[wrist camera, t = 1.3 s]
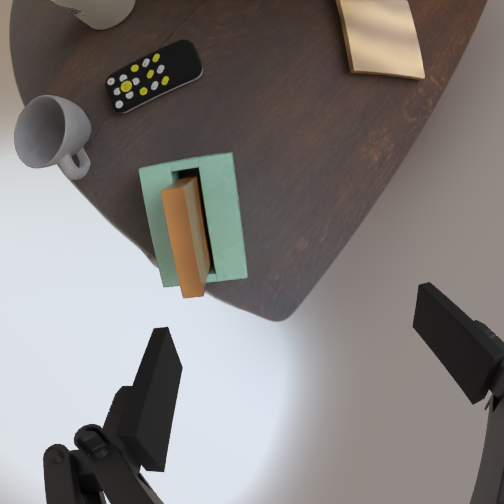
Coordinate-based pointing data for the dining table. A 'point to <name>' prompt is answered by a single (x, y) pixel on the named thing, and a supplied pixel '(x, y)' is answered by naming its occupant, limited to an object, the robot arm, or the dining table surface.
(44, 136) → the mug
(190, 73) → the remote control
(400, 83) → the dining table surface
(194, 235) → the toast
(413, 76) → the board
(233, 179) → the toaster
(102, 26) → the travel mug
